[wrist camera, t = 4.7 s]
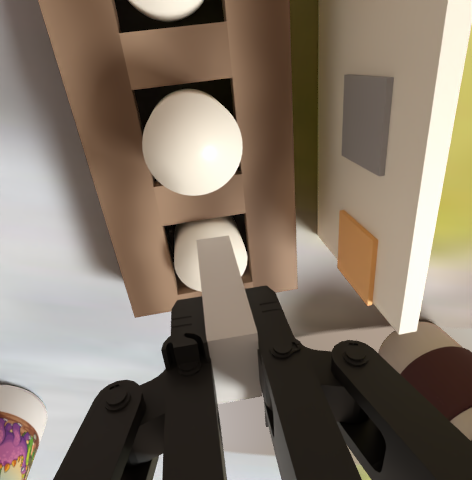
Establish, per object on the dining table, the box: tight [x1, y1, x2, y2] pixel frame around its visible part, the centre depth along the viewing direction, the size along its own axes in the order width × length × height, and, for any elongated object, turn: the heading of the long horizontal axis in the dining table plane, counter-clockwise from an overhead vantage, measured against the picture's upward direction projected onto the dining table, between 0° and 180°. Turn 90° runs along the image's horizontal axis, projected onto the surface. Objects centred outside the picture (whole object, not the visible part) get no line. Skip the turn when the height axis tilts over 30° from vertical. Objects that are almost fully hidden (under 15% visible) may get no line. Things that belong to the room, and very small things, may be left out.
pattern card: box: [317, 0, 472, 335], centre depth 19 cm, size 1×20×12 cm, turn 6°
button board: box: [38, 0, 298, 318], centre depth 22 cm, size 12×24×4 cm, turn 6°
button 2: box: [142, 89, 243, 196], centre depth 19 cm, size 5×5×4 cm
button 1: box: [174, 215, 247, 292], centre depth 25 cm, size 5×5×4 cm
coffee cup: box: [378, 322, 472, 442], centre depth 30 cm, size 10×10×15 cm
